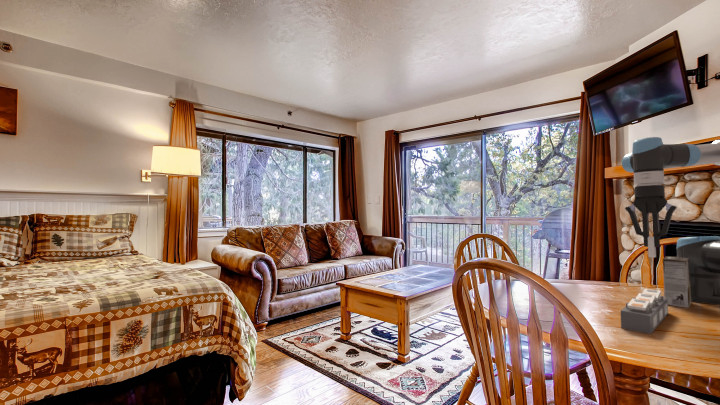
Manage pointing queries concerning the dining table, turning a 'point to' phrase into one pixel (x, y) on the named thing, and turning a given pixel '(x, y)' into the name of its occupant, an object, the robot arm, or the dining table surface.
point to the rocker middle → (646, 297)
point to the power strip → (644, 316)
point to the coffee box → (677, 281)
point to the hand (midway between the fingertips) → (652, 256)
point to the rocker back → (652, 292)
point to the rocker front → (638, 304)
